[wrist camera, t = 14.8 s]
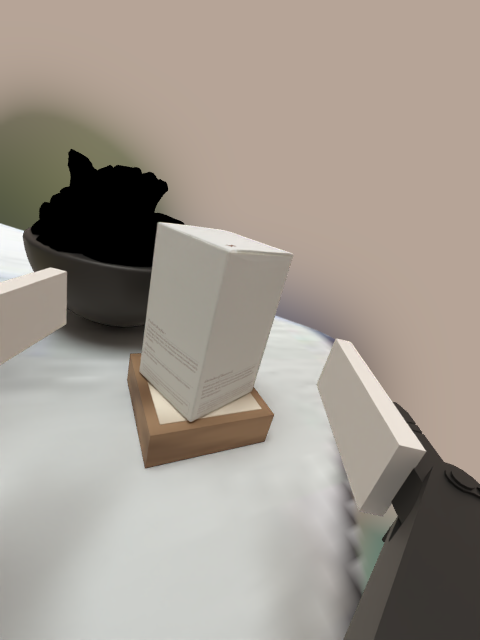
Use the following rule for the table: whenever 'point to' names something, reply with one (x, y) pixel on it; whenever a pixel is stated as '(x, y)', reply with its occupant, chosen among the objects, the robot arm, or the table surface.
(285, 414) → the table surface
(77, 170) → the bowl of black rocks
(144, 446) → the walnut base
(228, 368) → the supplement box
